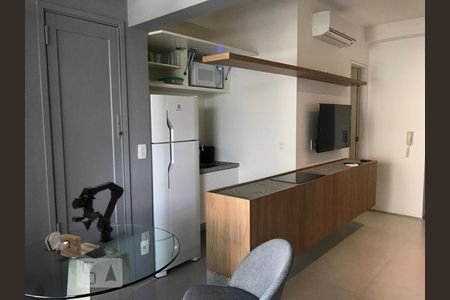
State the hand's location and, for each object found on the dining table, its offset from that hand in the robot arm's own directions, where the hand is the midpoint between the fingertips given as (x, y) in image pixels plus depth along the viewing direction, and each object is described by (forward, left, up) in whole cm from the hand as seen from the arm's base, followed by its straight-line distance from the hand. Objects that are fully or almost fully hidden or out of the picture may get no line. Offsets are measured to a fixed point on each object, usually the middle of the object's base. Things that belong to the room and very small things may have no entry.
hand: (87, 230), depth 217 cm
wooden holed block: (+15, 0, -6) cm, 16 cm away
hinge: (+7, -24, -12) cm, 28 cm away
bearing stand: (+6, 0, -12) cm, 13 cm away
